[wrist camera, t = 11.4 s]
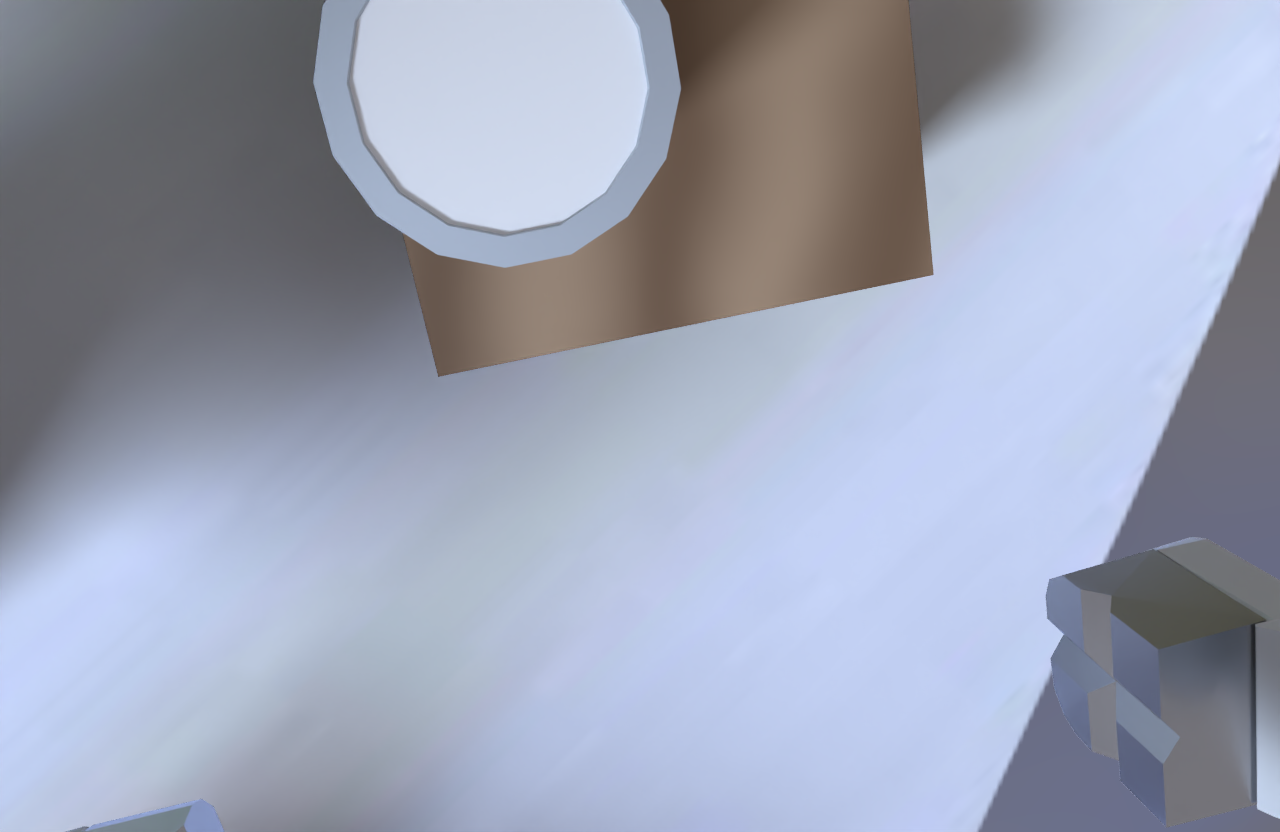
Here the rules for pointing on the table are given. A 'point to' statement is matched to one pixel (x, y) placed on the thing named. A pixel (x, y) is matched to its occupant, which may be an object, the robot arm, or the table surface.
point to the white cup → (498, 117)
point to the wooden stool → (727, 192)
